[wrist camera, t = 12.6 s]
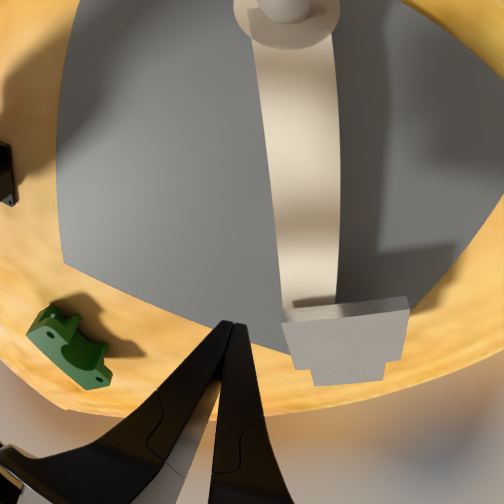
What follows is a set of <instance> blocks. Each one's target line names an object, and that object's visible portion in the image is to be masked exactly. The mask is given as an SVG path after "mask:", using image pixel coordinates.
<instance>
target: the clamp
mask: <svg viewBox="0 0 504 504" xmlns="http://www.w3.org/2000/svg"><path fill="white" fill-rule="evenodd" d="M81 318H82V317H81V316H80V314H77V315H75V316H73V317H71V318H69V319H66V318H65V317H64V316H63V315H62V314H61V312H60V311H59V310H58V309H57V308H56V307H55V306H48V307H47V308H45V309H44V310H42V311H40V312H39V314H38V316H37V317H36V319H35V320H34V322H33V324H32V325H31V327H30V329H29V330H28V332H27V334H26V336H27V337H28V338H29V339H30V340H31V341H32V342H33V343H34V344H35V345H36V346H37V347H38V348H39V349H40V350H41V351H42V352H43V353H44V354H45V355H46V356H47V357H48V358H49V359H50V360H51V361H52V362H53V363H54V364H56V365H57V366H58V367H59V368H60V369H61V370H62V371H63V372H65V373H66V374H67V375H68V376H69V377H70V378H72V379H73V380H74V381H75V382H76V383H78V384H79V385H80V386H81V387H83V388H84V389H85V390H91V389H96V388H101V387H106V386H109V385H110V383H111V379H112V376H113V374H112V372H111V370H109V369H108V368H107V367H106V366H105V365H104V355H105V352H106V350H107V347H108V343H107V342H106V341H105V342H104V343H100V344H97V343H92V342H89V341H88V340H87V339H86V338H85V337H84V336H83V335H82V334H81V333H80V332H79V331H78V330H77V329H76V328H77V326H78V324H79V322H80V320H81Z"/></svg>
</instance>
